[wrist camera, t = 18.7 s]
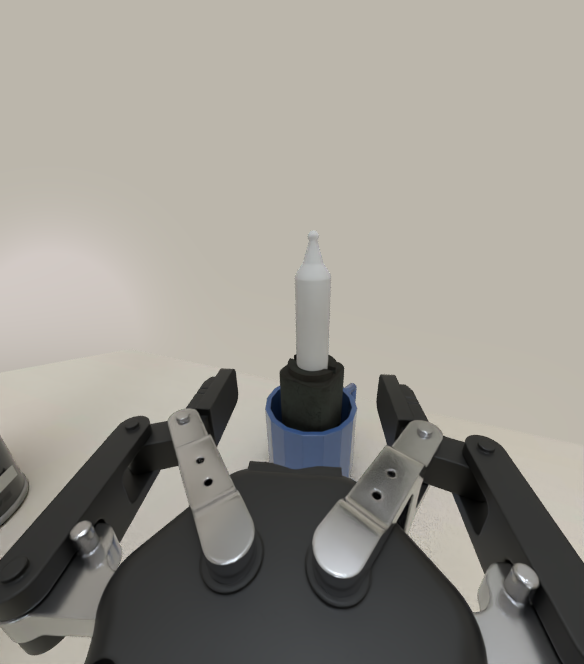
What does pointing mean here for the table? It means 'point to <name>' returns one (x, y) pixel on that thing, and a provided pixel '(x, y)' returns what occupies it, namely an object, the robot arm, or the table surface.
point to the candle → (312, 353)
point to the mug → (312, 437)
